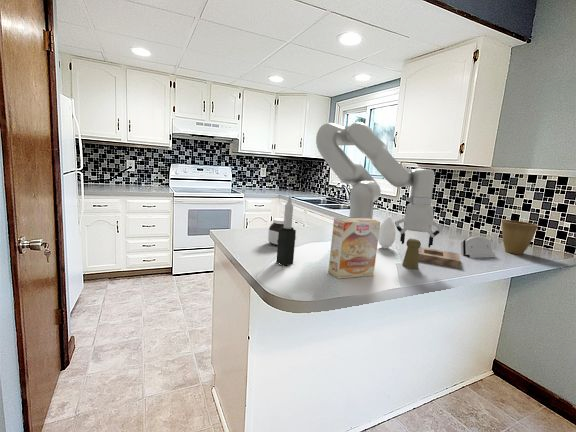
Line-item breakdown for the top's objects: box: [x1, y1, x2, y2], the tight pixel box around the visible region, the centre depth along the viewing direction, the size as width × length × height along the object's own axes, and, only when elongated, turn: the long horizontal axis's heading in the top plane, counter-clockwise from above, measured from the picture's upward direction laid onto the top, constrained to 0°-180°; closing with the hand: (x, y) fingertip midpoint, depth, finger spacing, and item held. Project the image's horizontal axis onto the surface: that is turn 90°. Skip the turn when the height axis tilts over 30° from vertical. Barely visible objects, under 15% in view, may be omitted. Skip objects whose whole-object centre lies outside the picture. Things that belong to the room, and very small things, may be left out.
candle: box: [276, 195, 297, 266], centre depth 115 cm, size 5×5×25 cm
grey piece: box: [460, 236, 496, 259], centre depth 152 cm, size 17×5×10 cm, turn 110°
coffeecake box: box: [327, 217, 382, 280], centre depth 109 cm, size 15×7×20 cm, turn 114°
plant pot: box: [501, 219, 539, 255], centre depth 162 cm, size 15×15×16 cm
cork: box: [402, 238, 422, 270], centre depth 124 cm, size 6×6×11 cm
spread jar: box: [267, 217, 297, 247], centre depth 143 cm, size 12×11×12 cm
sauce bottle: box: [378, 211, 397, 250], centre depth 150 cm, size 8×8×18 cm
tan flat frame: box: [418, 246, 461, 269], centre depth 138 cm, size 20×14×3 cm
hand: (415, 245), depth 123 cm, fingers open, 9 cm apart
